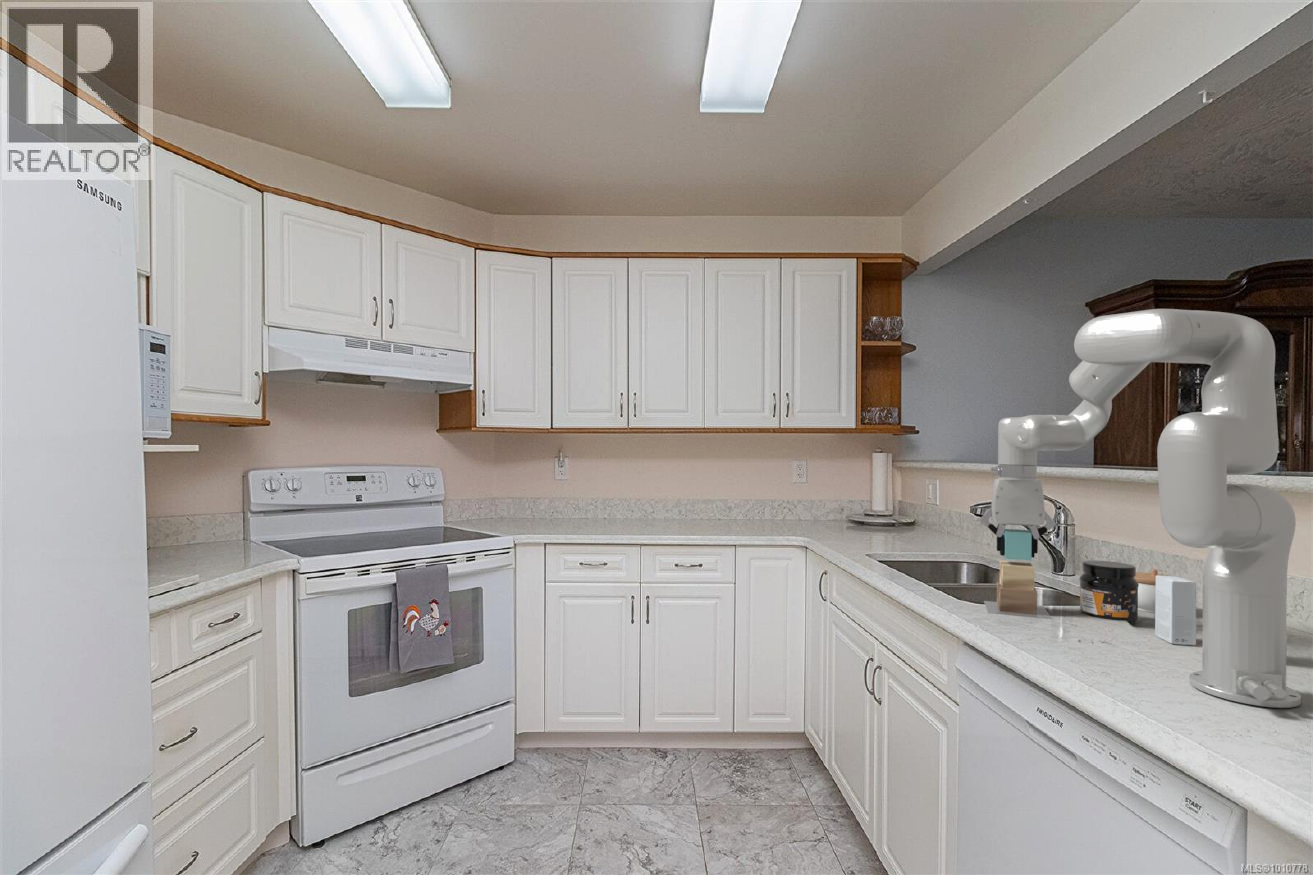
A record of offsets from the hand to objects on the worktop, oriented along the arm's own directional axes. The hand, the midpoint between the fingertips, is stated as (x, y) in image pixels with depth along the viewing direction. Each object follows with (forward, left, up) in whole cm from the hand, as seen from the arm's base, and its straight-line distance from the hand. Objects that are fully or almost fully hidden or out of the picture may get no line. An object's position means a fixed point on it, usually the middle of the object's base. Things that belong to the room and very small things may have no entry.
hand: (1016, 554), depth 145 cm
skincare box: (-9, -26, -14) cm, 31 cm away
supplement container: (+4, -18, -14) cm, 23 cm away
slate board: (0, 0, -13) cm, 13 cm away
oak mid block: (0, 0, -7) cm, 7 cm away
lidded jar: (+18, -30, -14) cm, 37 cm away
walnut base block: (0, 0, -12) cm, 12 cm away
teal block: (0, 0, -1) cm, 1 cm away
